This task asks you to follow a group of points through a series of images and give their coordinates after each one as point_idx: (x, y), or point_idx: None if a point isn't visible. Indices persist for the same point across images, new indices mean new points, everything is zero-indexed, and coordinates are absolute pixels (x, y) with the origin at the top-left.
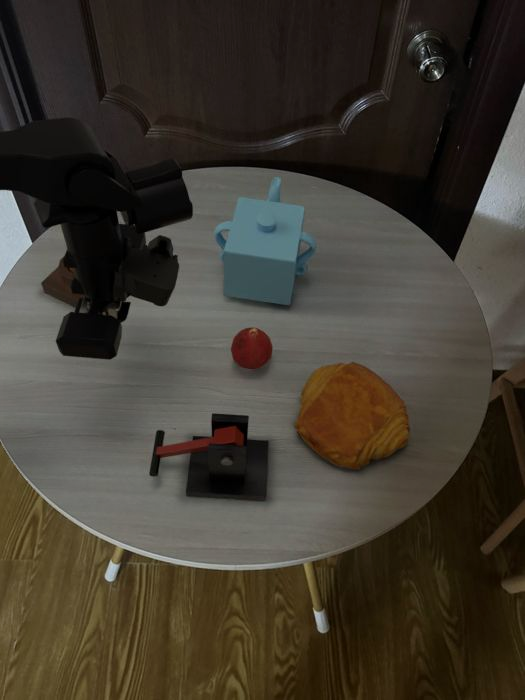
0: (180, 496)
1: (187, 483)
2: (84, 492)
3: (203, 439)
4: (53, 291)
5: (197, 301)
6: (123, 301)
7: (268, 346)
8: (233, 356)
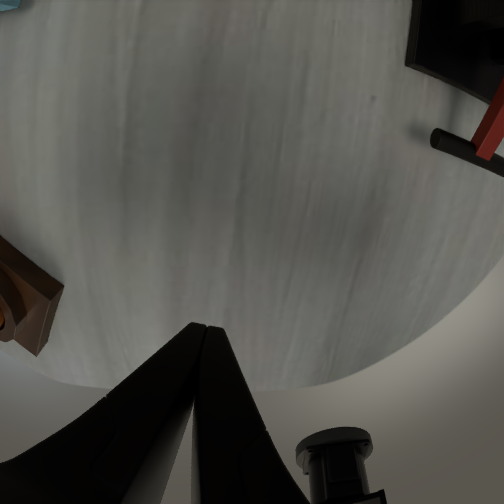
0: None
1: None
2: (453, 277)
3: None
4: (43, 338)
5: (24, 63)
6: (69, 431)
7: None
8: None
